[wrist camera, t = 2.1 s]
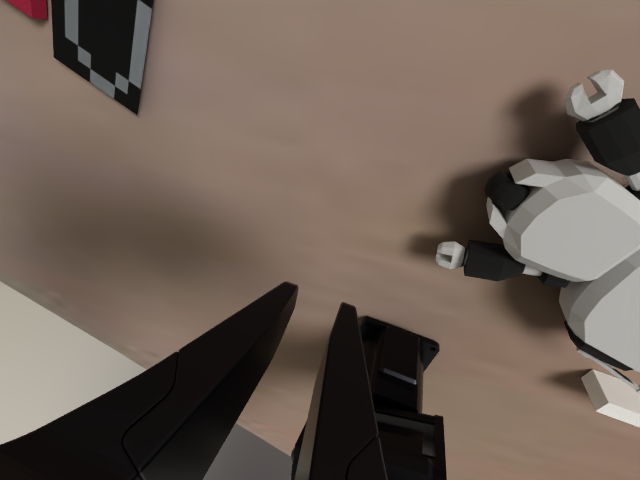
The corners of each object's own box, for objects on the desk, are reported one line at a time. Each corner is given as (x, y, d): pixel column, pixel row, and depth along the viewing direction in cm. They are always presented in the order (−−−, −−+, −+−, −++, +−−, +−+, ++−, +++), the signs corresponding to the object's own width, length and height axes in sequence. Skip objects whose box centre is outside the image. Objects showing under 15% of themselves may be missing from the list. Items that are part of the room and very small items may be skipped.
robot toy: (424, 239, 21) (628, 352, 20) (418, 278, 17) (665, 418, 16) (577, 46, 14) (920, 207, 12) (620, 45, 10) (1111, 272, 9)
